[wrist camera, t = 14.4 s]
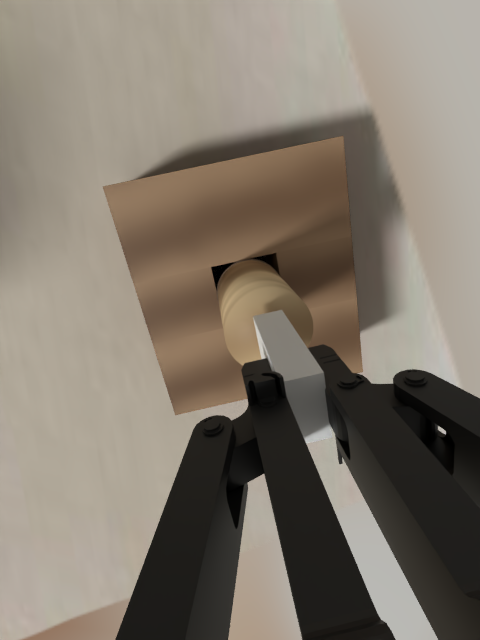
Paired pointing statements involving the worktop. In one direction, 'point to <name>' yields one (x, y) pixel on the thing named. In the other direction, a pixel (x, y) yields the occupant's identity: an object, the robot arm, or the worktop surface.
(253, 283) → the peg
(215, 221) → the socket block
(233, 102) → the worktop surface
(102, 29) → the worktop surface
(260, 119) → the worktop surface
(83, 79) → the worktop surface
